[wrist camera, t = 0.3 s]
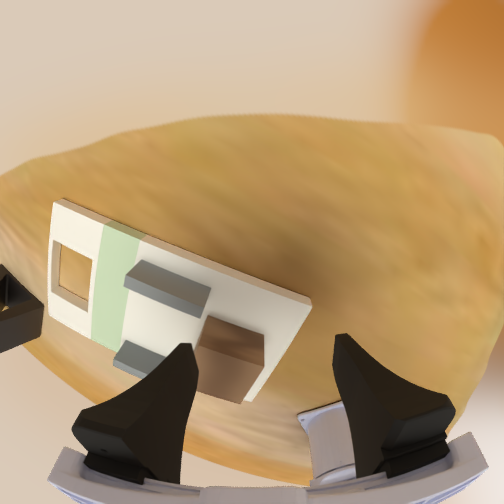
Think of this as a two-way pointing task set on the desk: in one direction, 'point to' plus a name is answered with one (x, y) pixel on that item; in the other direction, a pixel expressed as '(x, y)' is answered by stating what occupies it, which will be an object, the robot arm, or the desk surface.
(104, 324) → the pad
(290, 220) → the desk surface
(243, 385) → the block
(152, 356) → the board
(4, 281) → the black open bin
